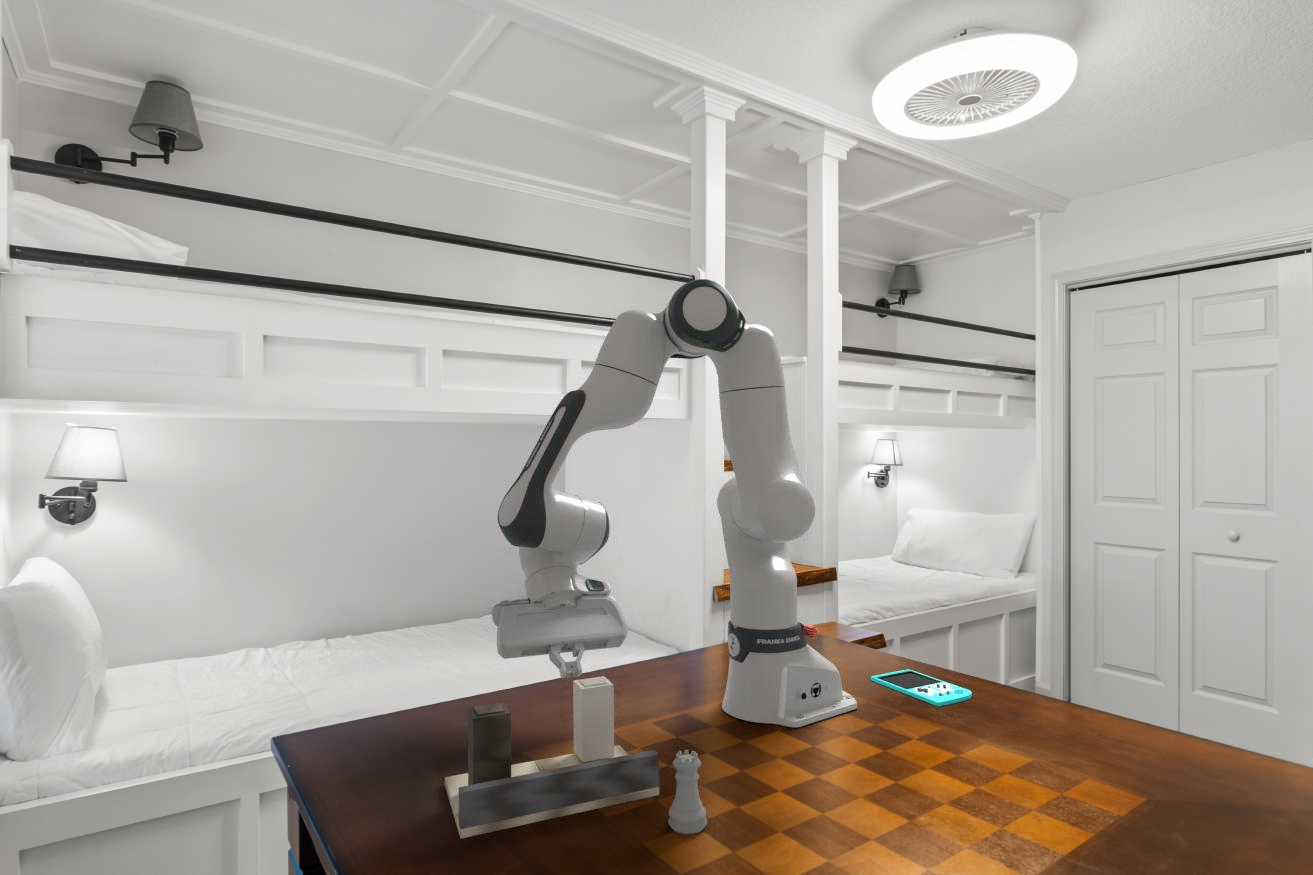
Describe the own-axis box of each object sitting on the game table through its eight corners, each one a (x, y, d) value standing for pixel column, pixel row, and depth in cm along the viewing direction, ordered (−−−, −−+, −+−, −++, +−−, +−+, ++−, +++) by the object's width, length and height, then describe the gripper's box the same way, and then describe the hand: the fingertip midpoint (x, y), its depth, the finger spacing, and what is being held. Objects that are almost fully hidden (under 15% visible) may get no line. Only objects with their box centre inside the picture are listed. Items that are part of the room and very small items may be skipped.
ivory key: (604, 745, 100) (603, 674, 100) (614, 756, 96) (613, 682, 96) (573, 751, 98) (573, 678, 98) (582, 762, 94) (581, 687, 94)
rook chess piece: (704, 837, 78) (703, 764, 78) (664, 833, 79) (663, 761, 79) (709, 817, 82) (708, 747, 82) (671, 813, 83) (671, 745, 83)
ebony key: (504, 779, 89) (504, 700, 90) (511, 793, 86) (510, 710, 86) (468, 786, 88) (467, 706, 88) (473, 800, 84) (473, 716, 84)
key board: (619, 751, 101) (619, 716, 101) (659, 794, 88) (658, 753, 88) (444, 784, 91) (444, 745, 91) (460, 838, 78) (460, 792, 78)
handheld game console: (937, 709, 117) (937, 701, 117) (868, 682, 132) (868, 675, 132) (979, 699, 122) (979, 691, 122) (908, 674, 136) (908, 667, 136)
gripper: (493, 589, 108) (504, 672, 99) (618, 581, 116) (640, 657, 107) (487, 613, 112) (498, 694, 103) (609, 603, 120) (629, 678, 111)
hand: (571, 675), depth 105 cm, fingers closed
